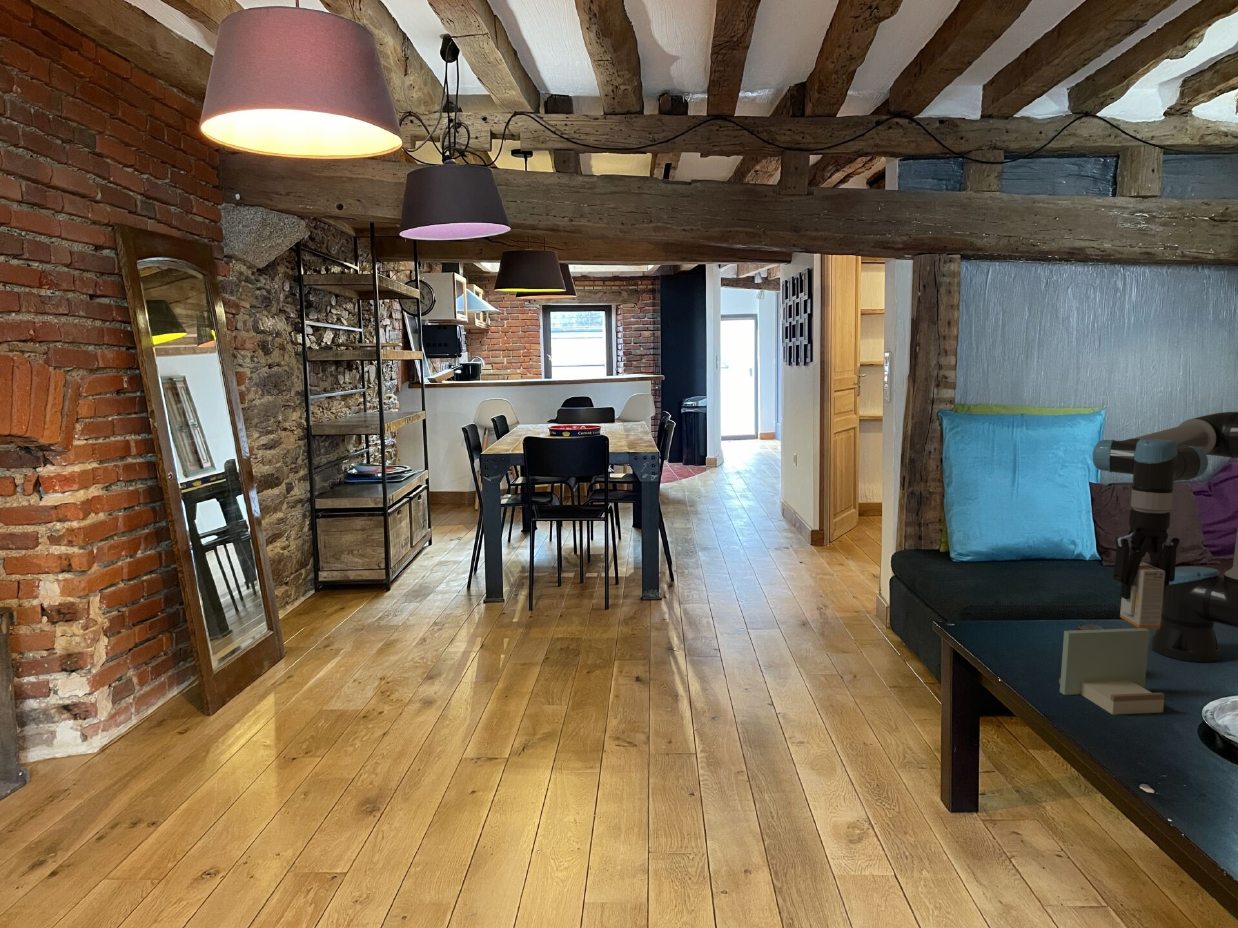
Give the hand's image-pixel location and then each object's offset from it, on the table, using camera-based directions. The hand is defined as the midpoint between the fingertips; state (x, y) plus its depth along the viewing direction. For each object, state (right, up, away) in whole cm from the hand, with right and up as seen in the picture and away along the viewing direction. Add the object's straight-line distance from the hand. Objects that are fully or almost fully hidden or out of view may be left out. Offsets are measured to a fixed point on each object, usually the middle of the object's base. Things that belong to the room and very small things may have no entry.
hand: (1140, 612), depth 184 cm
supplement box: (0, -3, 0) cm, 3 cm away
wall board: (-1, -21, +9) cm, 23 cm away
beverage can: (+1, -20, +23) cm, 30 cm away
